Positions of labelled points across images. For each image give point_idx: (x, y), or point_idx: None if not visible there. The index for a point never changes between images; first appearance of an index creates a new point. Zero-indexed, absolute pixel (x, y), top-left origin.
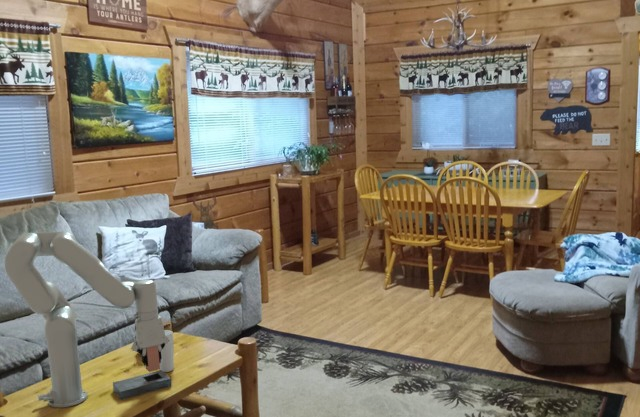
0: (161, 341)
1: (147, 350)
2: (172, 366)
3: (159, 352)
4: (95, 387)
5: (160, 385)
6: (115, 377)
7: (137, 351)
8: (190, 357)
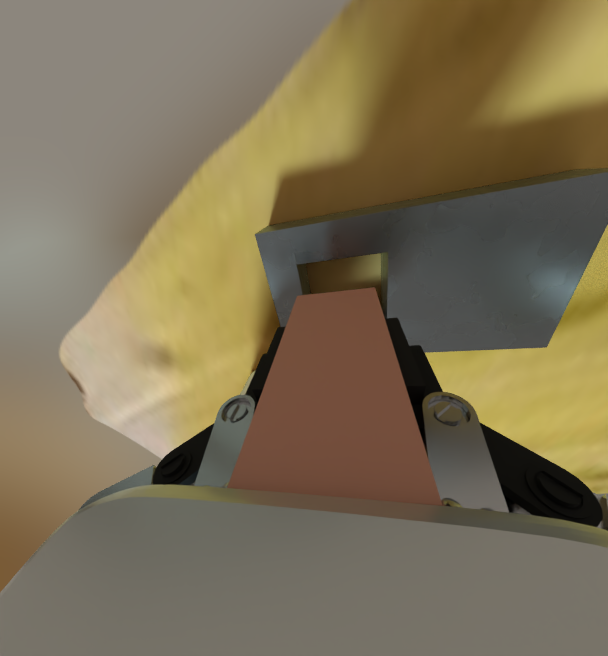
0: (93, 559)
1: (416, 447)
2: (248, 380)
3: (255, 388)
4: (551, 386)
5: (320, 219)
6: None
7: (591, 491)
8: (203, 417)
